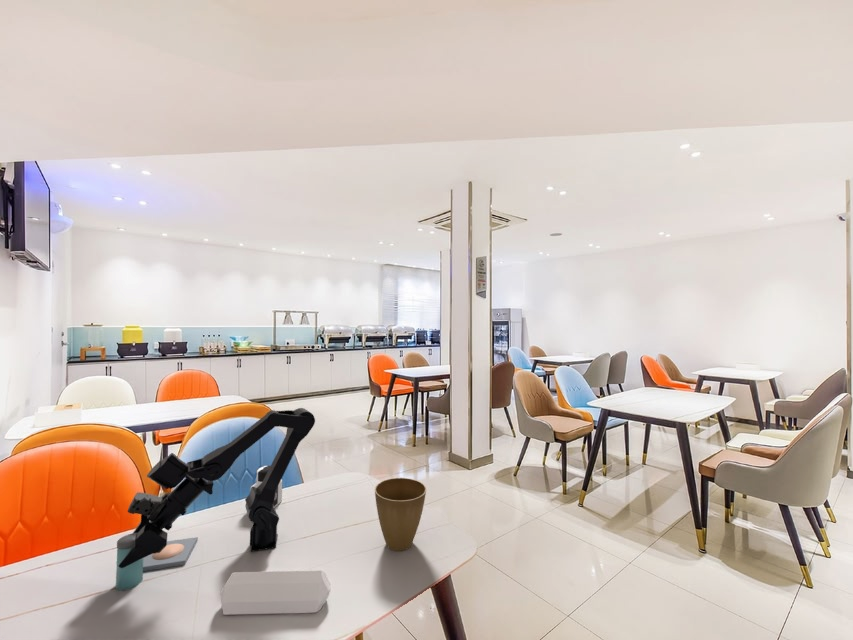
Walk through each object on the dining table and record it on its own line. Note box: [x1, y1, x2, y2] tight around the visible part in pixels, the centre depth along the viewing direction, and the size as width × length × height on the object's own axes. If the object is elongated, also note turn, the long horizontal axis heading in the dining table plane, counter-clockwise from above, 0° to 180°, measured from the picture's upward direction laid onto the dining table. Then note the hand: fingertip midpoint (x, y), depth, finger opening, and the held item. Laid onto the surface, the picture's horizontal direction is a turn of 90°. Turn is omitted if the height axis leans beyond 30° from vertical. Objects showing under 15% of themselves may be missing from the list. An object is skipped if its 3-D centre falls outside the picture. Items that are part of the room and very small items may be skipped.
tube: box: [115, 532, 144, 591], centre depth 87 cm, size 5×5×10 cm
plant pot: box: [374, 477, 427, 552], centre depth 105 cm, size 15×15×16 cm
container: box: [249, 465, 283, 509], centre depth 126 cm, size 8×8×13 cm
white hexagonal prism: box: [220, 570, 331, 616], centre depth 82 cm, size 7×7×24 cm
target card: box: [143, 536, 199, 572], centre depth 98 cm, size 11×11×1 cm
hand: (123, 556), depth 86 cm, fingers open, 9 cm apart
